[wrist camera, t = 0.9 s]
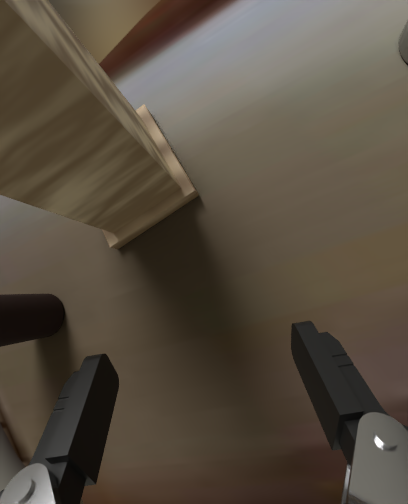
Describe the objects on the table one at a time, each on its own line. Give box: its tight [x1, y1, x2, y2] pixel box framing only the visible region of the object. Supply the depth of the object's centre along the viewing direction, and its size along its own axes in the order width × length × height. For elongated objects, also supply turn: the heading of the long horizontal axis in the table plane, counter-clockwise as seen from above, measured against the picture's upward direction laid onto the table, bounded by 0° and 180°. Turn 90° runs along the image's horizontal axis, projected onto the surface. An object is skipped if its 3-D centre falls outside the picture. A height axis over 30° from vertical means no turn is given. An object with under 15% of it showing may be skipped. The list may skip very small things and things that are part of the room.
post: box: [0, 0, 199, 249], centre depth 24 cm, size 17×15×34 cm
